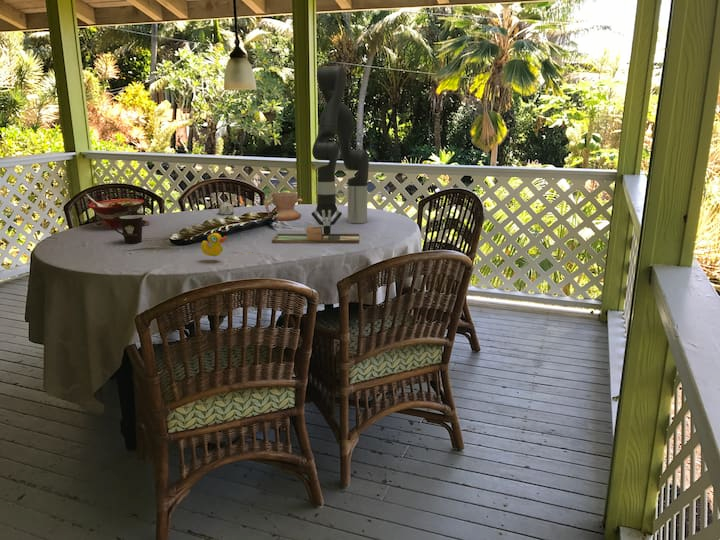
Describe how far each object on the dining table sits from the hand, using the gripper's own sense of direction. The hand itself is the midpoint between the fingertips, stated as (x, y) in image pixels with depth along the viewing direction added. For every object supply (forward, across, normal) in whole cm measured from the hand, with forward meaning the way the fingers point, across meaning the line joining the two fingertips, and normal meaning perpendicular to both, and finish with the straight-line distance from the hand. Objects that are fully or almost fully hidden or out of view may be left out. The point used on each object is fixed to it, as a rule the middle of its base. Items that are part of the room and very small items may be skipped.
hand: (327, 234), depth 237 cm
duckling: (+2, +40, +29) cm, 49 cm away
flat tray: (+2, +4, 0) cm, 4 cm away
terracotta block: (+2, +5, 0) cm, 5 cm away
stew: (+2, +96, -27) cm, 100 cm away
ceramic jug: (+2, +22, -42) cm, 48 cm away
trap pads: (+2, +4, 0) cm, 4 cm away
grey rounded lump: (+2, +52, -51) cm, 73 cm away
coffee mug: (+2, +80, +3) cm, 80 cm away
